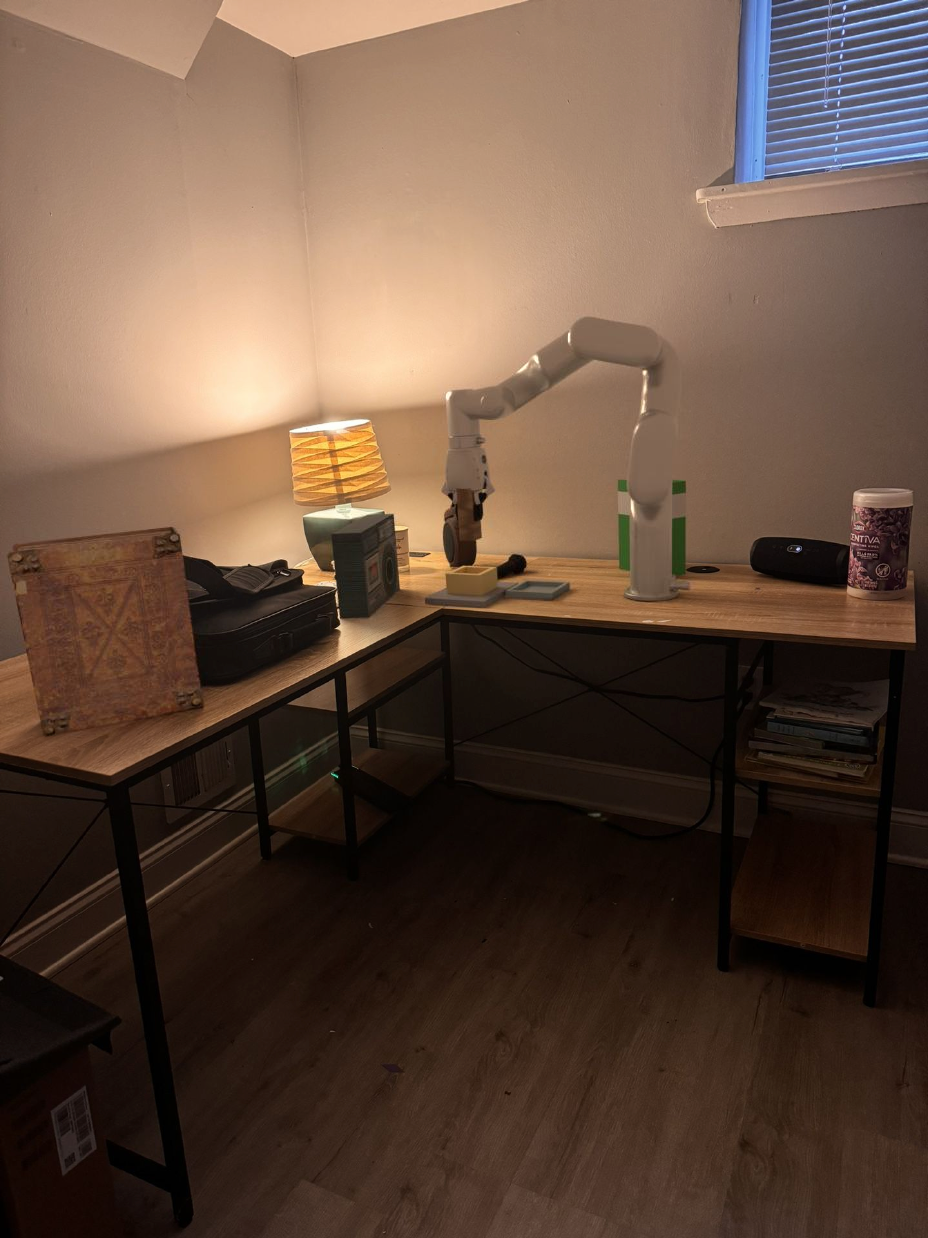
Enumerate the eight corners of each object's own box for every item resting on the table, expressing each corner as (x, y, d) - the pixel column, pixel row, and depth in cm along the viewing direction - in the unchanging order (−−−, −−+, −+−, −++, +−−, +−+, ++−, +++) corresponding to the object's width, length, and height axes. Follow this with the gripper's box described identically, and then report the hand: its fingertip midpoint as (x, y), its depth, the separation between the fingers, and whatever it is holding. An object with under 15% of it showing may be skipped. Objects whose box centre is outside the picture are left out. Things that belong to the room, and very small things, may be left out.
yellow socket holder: (518, 588, 218) (517, 563, 216) (484, 607, 201) (482, 580, 199) (462, 585, 225) (461, 561, 224) (424, 603, 208) (422, 577, 207)
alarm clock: (441, 567, 251) (436, 498, 246) (464, 564, 253) (460, 496, 248) (455, 576, 238) (450, 503, 232) (480, 572, 240) (476, 501, 234)
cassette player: (368, 618, 199) (360, 532, 194) (339, 618, 200) (331, 533, 195) (399, 589, 226) (393, 513, 221) (374, 590, 228) (367, 514, 222)
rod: (481, 537, 210) (477, 471, 206) (474, 540, 207) (470, 473, 203) (467, 537, 212) (462, 472, 208) (459, 540, 209) (455, 474, 205)
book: (41, 737, 137) (4, 552, 130) (45, 719, 146) (10, 544, 138) (205, 707, 146) (179, 532, 139) (199, 691, 155) (175, 526, 147)
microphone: (478, 597, 226) (529, 573, 238) (480, 578, 223) (532, 555, 235) (464, 588, 229) (515, 566, 241) (465, 569, 226) (517, 547, 238)
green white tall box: (619, 568, 234) (617, 479, 228) (640, 564, 237) (639, 476, 231) (663, 578, 219) (663, 483, 213) (685, 574, 222) (685, 480, 216)
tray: (569, 589, 214) (569, 582, 213) (552, 600, 204) (551, 593, 203) (525, 586, 219) (525, 579, 219) (505, 597, 209) (505, 590, 209)
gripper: (503, 440, 203) (507, 517, 208) (441, 443, 211) (446, 517, 215) (489, 443, 197) (494, 522, 201) (426, 445, 204) (432, 522, 209)
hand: (469, 519), depth 208 cm, fingers closed on rod, 4 cm apart
